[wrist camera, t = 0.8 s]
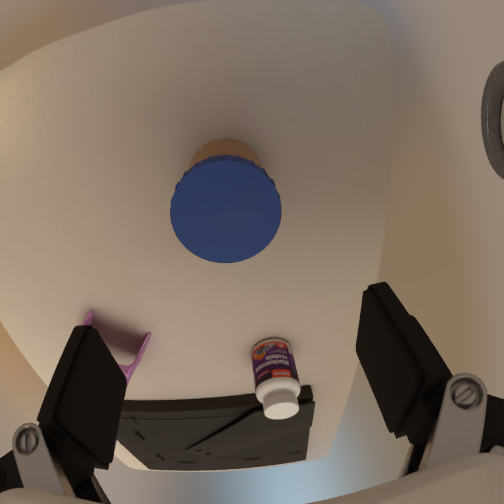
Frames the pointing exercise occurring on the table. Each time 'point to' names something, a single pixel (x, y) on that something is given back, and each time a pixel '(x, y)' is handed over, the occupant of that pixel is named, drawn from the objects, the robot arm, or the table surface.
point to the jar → (225, 151)
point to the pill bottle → (276, 378)
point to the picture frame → (214, 433)
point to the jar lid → (225, 209)
